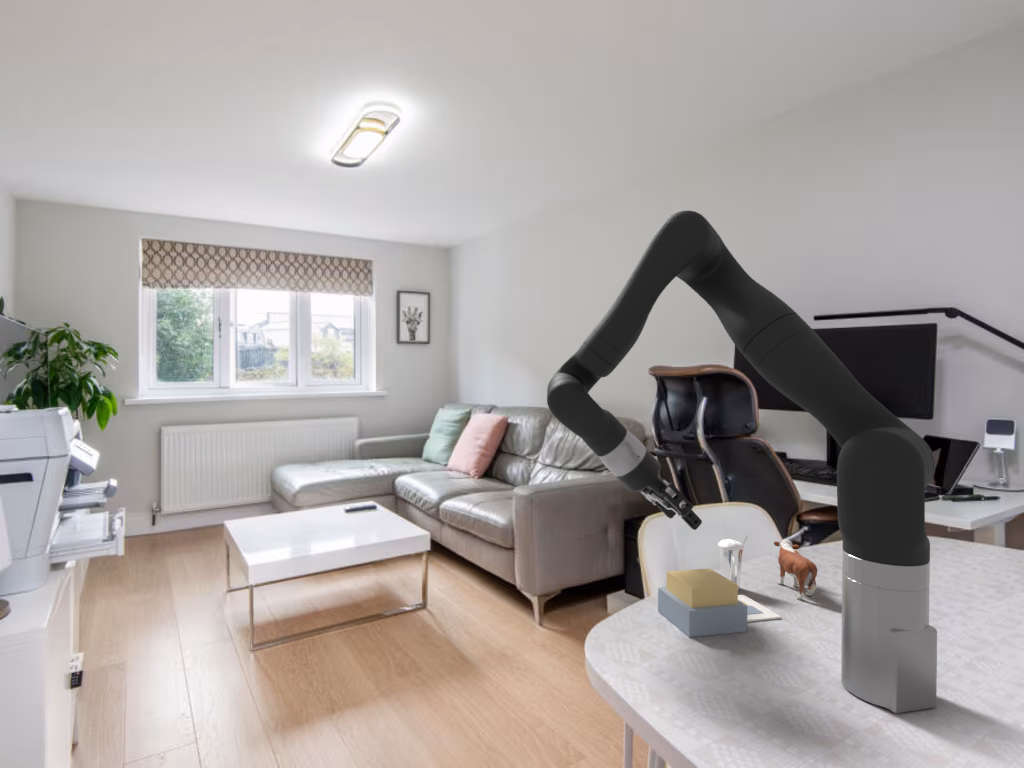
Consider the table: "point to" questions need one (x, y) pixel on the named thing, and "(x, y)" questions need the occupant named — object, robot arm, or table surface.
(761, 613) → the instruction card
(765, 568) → the table surface
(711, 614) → the tower base
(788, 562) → the bull figurine
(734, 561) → the milkshake
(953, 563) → the table surface
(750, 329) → the robot arm
